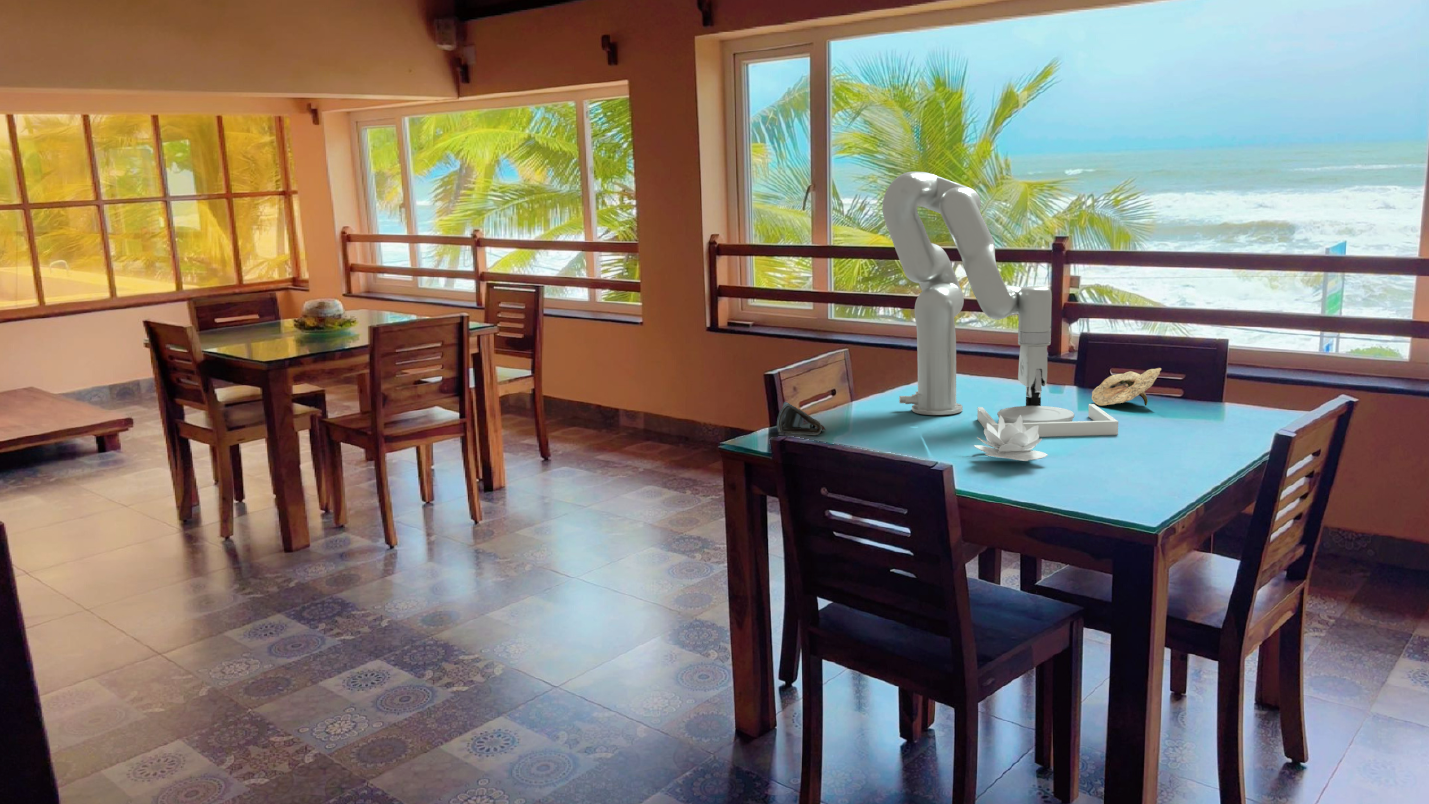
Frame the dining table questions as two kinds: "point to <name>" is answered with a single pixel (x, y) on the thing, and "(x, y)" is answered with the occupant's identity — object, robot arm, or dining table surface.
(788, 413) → the dark rounded triangle
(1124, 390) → the beige piece
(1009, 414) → the lid
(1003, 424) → the lotus flower
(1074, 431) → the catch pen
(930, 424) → the dining table surface
